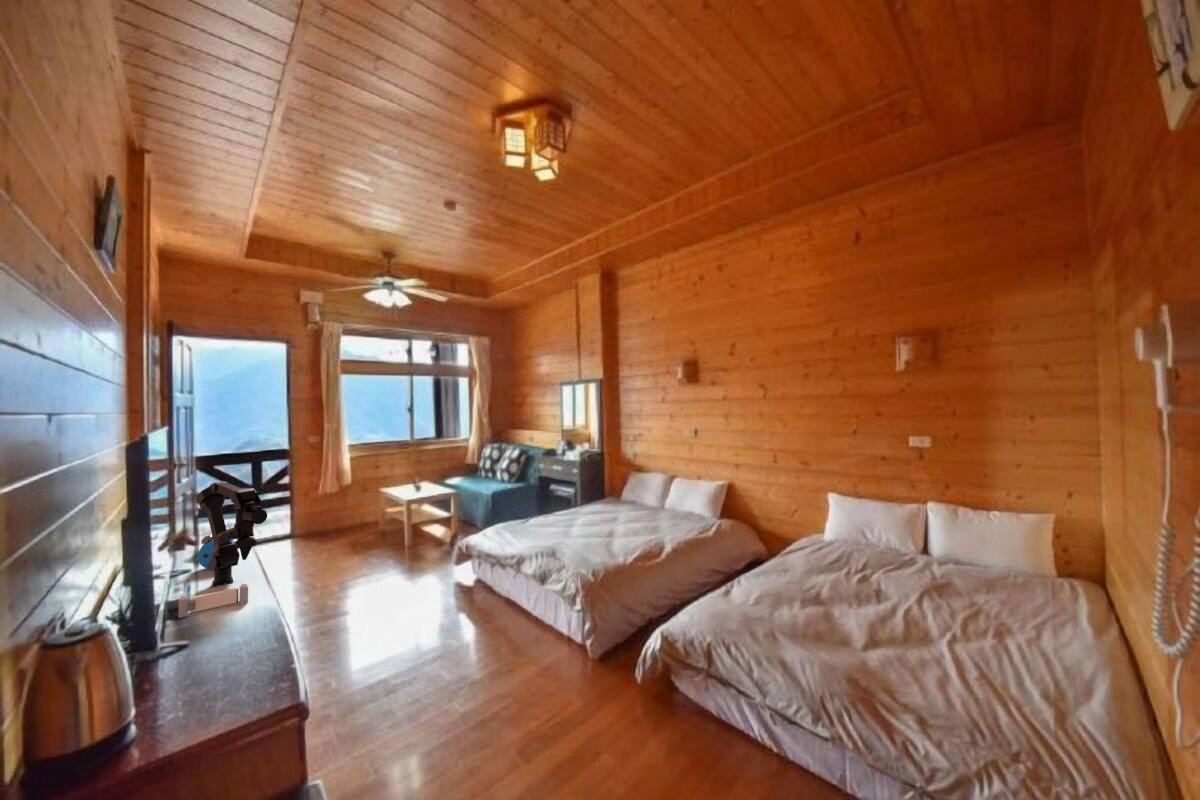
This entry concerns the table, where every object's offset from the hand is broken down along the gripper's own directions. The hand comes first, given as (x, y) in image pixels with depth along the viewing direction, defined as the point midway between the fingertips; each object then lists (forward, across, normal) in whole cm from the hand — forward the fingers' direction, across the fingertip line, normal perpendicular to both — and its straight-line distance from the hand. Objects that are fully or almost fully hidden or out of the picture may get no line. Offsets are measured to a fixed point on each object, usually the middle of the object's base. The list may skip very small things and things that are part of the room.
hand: (244, 559), depth 187 cm
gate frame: (+12, +14, -9) cm, 21 cm away
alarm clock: (+12, -36, -7) cm, 39 cm away
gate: (+11, +14, -9) cm, 20 cm away
